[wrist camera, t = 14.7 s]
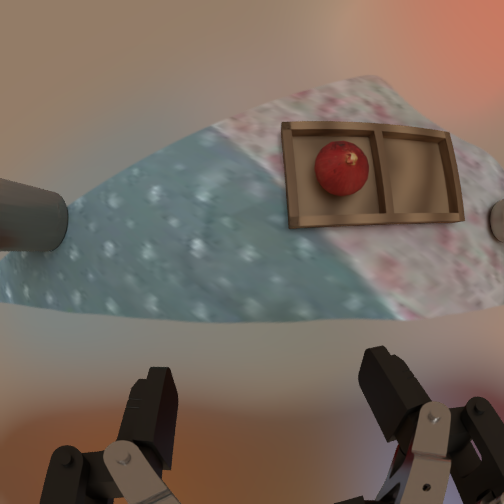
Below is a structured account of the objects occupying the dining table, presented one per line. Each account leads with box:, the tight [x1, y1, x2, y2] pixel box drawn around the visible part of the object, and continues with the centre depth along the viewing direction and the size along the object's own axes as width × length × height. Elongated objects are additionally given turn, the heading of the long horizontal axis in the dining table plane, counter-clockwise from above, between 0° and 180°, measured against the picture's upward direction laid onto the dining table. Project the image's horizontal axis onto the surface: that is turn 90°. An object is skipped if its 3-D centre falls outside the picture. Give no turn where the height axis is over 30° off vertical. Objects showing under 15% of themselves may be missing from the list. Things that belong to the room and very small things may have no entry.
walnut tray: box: [281, 121, 465, 229], centre depth 30 cm, size 23×12×3 cm, turn 93°
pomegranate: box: [314, 141, 369, 196], centre depth 27 cm, size 6×6×8 cm
